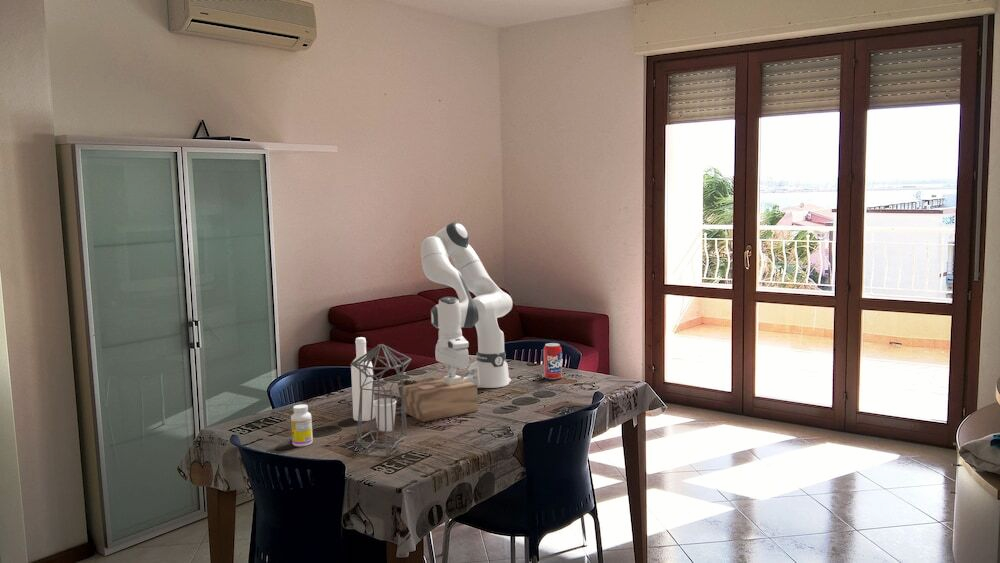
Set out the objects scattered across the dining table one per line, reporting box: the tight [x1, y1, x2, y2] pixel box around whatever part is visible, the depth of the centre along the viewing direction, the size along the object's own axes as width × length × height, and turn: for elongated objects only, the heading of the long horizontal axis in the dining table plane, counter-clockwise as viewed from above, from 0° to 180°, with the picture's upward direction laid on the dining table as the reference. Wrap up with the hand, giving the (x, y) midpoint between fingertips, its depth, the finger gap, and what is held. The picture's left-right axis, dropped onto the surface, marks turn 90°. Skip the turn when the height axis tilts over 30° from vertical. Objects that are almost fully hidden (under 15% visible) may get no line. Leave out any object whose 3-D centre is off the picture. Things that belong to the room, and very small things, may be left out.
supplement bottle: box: [290, 403, 314, 448], centre depth 256 cm, size 7×7×13 cm
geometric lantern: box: [349, 343, 412, 458], centre depth 244 cm, size 16×16×35 cm
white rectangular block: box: [443, 374, 463, 386], centre depth 293 cm, size 5×5×9 cm
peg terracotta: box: [418, 385, 436, 390], centre depth 287 cm, size 5×5×9 cm
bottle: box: [350, 336, 376, 422], centre depth 282 cm, size 8×8×30 cm
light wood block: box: [403, 378, 479, 423], centre depth 290 cm, size 16×23×10 cm
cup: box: [397, 379, 418, 397], centre depth 305 cm, size 8×7×8 cm
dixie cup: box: [373, 397, 398, 432], centre depth 270 cm, size 8×8×10 cm
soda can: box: [543, 342, 563, 381], centre depth 337 cm, size 8×8×15 cm
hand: (451, 376), depth 292 cm, fingers closed, pressing on white rectangular block
